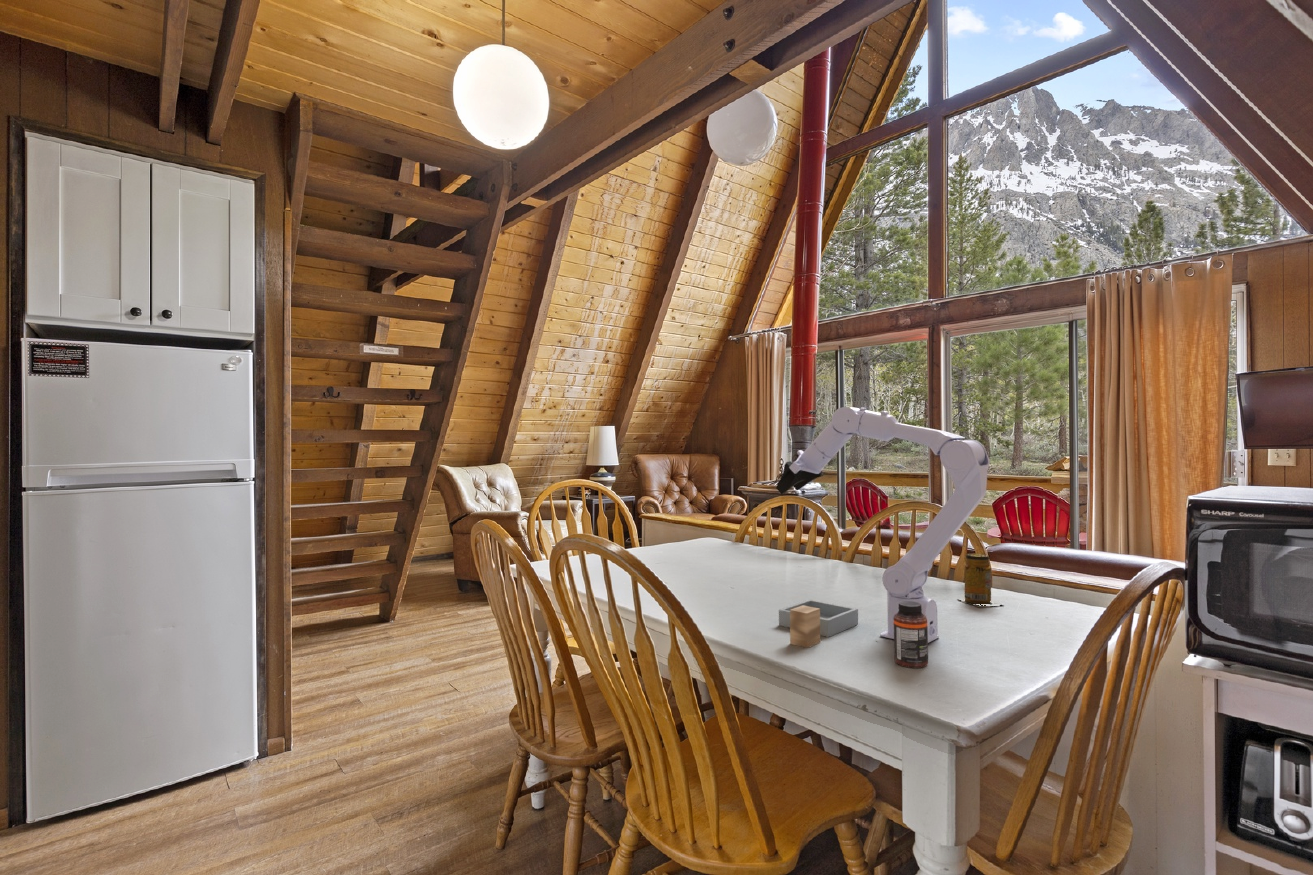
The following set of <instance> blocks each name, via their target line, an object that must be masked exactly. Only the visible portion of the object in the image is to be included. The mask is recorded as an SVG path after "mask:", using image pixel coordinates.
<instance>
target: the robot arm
mask: <svg viewBox="0 0 1313 875" xmlns="http://www.w3.org/2000/svg"><path fill="white" fill-rule="evenodd" d="M855 434H856V435H858V436H861V437H865V438H869V439H872V440H873V439H874V440H878V441H881V442H882V441H883V442H889V441H891V440H892V439H894V438H897V439H901V440H903V441H909V442H912V443H916V444H920V445H924V446H927V447H929V448H930V450H931V451H932V453H933V454H934V455H935V456H939V457H940V458H939V460H940V462H941V464H942V466H943V468H944V469H945V470H946V472H947V474H948V475H949V476H950V477H951V480H952V485H953V487H954V492H953V493H952V495H951V496H950V497H949V498H948V500H947V501H946V502H945V504H944V505H943V506H942V507H941V509H940V510H939V512H938V513H937V514H936V515H935V516H934V518H933V519H932V520H931V521H930V523H929V525H928V526H927V527H926V529H924V530H923V532H922V534H921V535H920V537H919V538H917V540H916V541H915V543H914V544H913V545H912V546H911V548H910V550H908V551H907V552H906V553H905V554H904V555H903V556H901V558H899V560H898V561H897V562H896V563H895V564H894V565H891V566H888V567H887V568H886V569H884V571H883V573H882V584H883V586H884V589H885V590H886V595H887V596H886V597H887V598H886V599H887V602H886V603H887V630H884V631H882V632H881V633H879V636H880V637H882V638H887V639H892V640H894V615H895V614H896V613H898V611H899V609H898V608H899V602H901V601H915V602H919V603H920V604H921V608H922V611H921V612H922V614H923V615H925V616H926V618H927V627H928V644H929V643H931V642H933V641H934V640H936V639H939V637H940V635H939V634H938V628H939V626H938V606H937V601H935V600H934V599H933V598H928V597H927V596H925V595H924V590H923V586H925V584H926V583H927V581H928V574H929V572H930V571H931V569H932V568H933V564H934V563H933V562H934V561H935V560H936V559H937V558H938V556H939V555H940V554H941V553H942V552H943V551H944V549H945V547H946V546H947V545H948V543H949V542H950V541H951V540H952V538H953V537H954V536H955V535H956V533H957V532H958V531H959V529H960V528H961V527H963V525H964V524H965V522H966V521H967V520H968V518H969V517H970V516H971V515H972V513H973V512H974V511H975V510H976V508H977V507H978V506H979V505H980V503H981V502H982V500H983V499H984V498H985V497H986V495H987V494H986V493H987V486H988V484H987V483H988V469H989V468H990V467H989V466H990V463H991V462H990V458H989V456H988V452H987V450H986V448H985V446H984V445H983V444H982V443H981V442H980V441H978V440H975V439H966V437H965V436H961V435H959V434H956V433H952V432H948V431H945V430H939V429H936V428H935V429H934V428H929V427H923V426H917V425H911V424H905V423H901V422H899V421H898V420H897V418H896V417H895V416H894V415H890V412H889V411H887V410H886V411H885V410H881V411H880V412H877V411H871V410H867V408H866V407H860V408H858V407H853V406H852V407H851V406H850V407H849V406H843V407H839V408H837V409H836V410H835V411H834V412H833V413H832V416H831V421H830V422H829V423H828V425H826V427H825V428H823V430H822V431H821V432H820V433H819V434H818V436H816V437H815V439H813V441H812V442H811V443H810V444H809V445H808V446H807V447H806V449H805V450H801V449H800V450H797V453H796V454H797V455H798V457H797V459H796V460H794V461H793V462H792V461H791V460H789V461H786V462H785V463H784V466H783V471H782V475H781V477H780V479H779V481H778V483H777V484H776V488H775V489H776V490H777V491H778V492H779V493H780V494H781V495H783V494H785V493H787V492H788V491H789V490H791V489H792V488H794V489H795V490H796V491H798V490H800V489H802V488H803V487H805V486H806V485H807V484H809V483H811V482H812V481H814V480H816V479H818V478H820V477H823V476H824V475H825V474H824V472H823V469H824V468H825V467H826V466H827V464H828V463H829V462H830V461H831V460H832V459H833V458H834V457H835V456H836V454H838V452H839V451H840V450H841V449H842V448H843V447H844V446H845V445H846V444H847V442H848V441H849V440H850V439H851V438H852V436H854V435H855ZM963 439H965V440H963Z"/></svg>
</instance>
